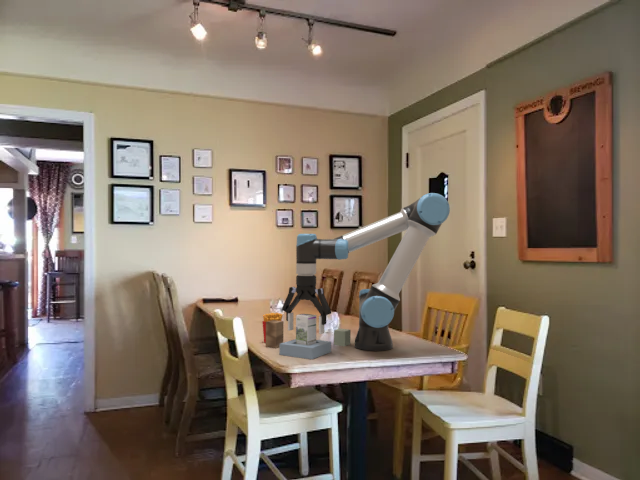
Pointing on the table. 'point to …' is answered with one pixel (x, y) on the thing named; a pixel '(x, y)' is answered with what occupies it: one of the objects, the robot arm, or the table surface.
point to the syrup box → (306, 329)
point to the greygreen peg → (342, 337)
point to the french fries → (269, 318)
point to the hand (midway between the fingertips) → (305, 331)
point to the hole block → (305, 349)
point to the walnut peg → (274, 333)
